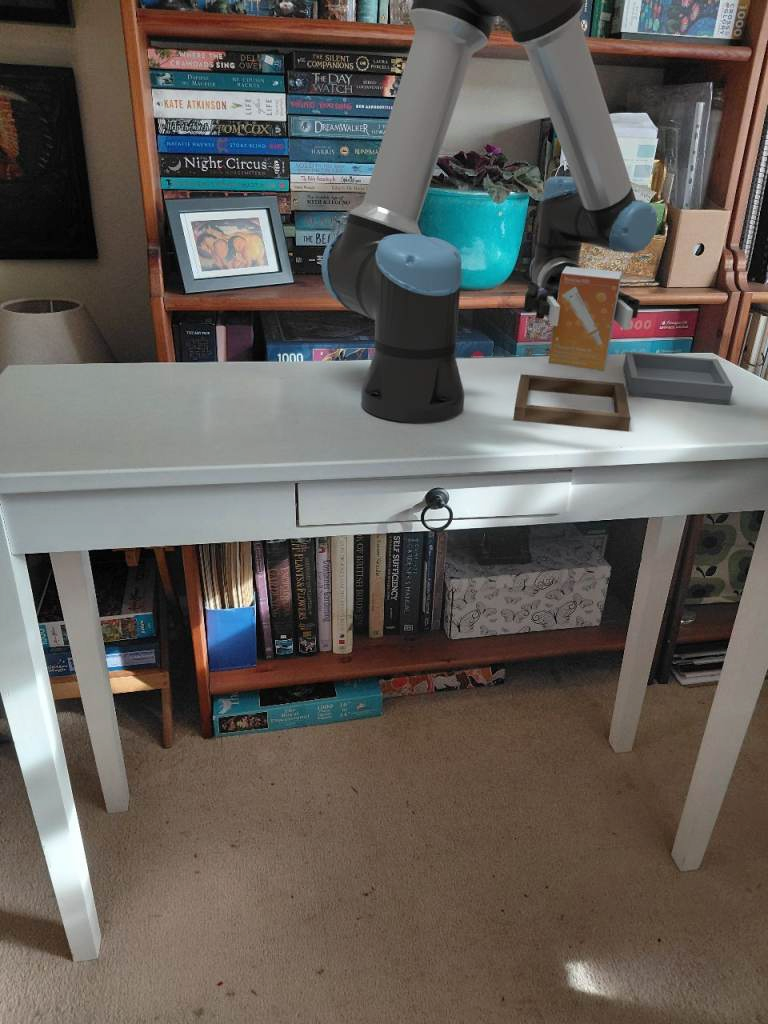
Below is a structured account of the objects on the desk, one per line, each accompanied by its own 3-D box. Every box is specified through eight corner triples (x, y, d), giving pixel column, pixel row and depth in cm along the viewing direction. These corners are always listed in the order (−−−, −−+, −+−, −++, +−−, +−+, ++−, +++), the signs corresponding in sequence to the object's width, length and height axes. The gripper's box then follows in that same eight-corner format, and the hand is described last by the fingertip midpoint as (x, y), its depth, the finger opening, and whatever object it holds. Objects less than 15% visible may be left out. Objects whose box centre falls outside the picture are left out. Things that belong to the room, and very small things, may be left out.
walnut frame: (513, 420, 117) (514, 406, 117) (519, 386, 132) (520, 374, 131) (628, 431, 115) (630, 417, 114) (621, 395, 129) (623, 383, 128)
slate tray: (628, 396, 129) (631, 377, 127) (623, 368, 142) (625, 351, 141) (728, 405, 126) (733, 386, 125) (713, 376, 139) (717, 359, 138)
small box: (547, 364, 119) (560, 272, 113) (552, 354, 124) (565, 265, 118) (604, 371, 117) (620, 278, 111) (607, 360, 122) (622, 270, 116)
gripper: (627, 312, 135) (666, 349, 115) (493, 305, 135) (509, 340, 115) (636, 265, 131) (677, 294, 111) (499, 258, 131) (515, 286, 111)
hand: (592, 318), depth 113 cm, fingers closed on small box, 9 cm apart
